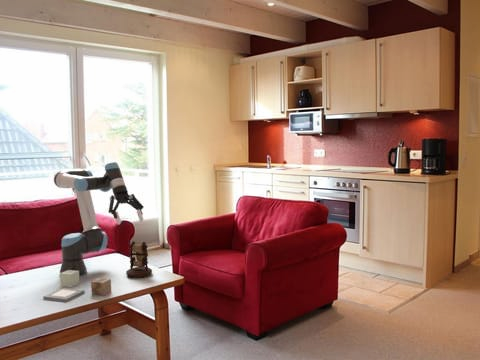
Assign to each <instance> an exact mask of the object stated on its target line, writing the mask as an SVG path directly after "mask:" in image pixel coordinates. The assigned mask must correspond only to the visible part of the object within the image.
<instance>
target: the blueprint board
mask: <svg viewBox="0 0 480 360" xmlns="http://www.w3.org/2000/svg"><path fill="white" fill-rule="evenodd" d="M83 294H85V289H84V290H83V289H76V288H66V287H61V288H59V289H57V290H55V291H52V292H50V293H47V294H45V295H44V296H43V297H42V298H43V300H45V301H46V300H48V301H56V302H64V303H67V302H69V301H72V300H73V299H76V298H78V297H80V296H81V295H83Z"/></svg>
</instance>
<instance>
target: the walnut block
mask: <svg viewBox="0 0 480 360" xmlns="http://www.w3.org/2000/svg"><path fill="white" fill-rule="evenodd" d="M90 283H91V284H90V285H91V287H90V289H91V296H98V297H105V296H107V295H108V294H110V293H112V280H111V278H107V277H106V278H104V277H98V278H96V279H94V280H92V281H90Z"/></svg>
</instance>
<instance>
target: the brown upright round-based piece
mask: <svg viewBox="0 0 480 360" xmlns="http://www.w3.org/2000/svg"><path fill="white" fill-rule="evenodd" d="M148 246H149V245H147V244H146V241H143V242H142V243H141V244H140V243H136V242H135V240H134V241H131V244H129V246H128V247H129V253H128V254H129V255H128V256H129V259H130V260H129V264H130V266H129V267H130V268H129V269H127V270H126V271H125V274H126V276H127V278H129V277H142V279H144V277H145V276H149V275H151V274H152V273H153V269H152V268H151V267H148V264H149V261H148V256H149V253H148Z"/></svg>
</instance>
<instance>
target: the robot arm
mask: <svg viewBox="0 0 480 360" xmlns="http://www.w3.org/2000/svg"><path fill="white" fill-rule="evenodd" d="M104 171H105V173H104V175H100V176H99V175H97V176H94V175H93V172H92V171H91V170H90V169H89V168H73V169H62V170H60V171H58V172H56V174H55V175H53V176H54V177H53V183H54V185H55V186H56V187H57V188H60V189H72V192H73V194H75V196H76V199H77V205H78V209H79V214H80V218H81V223H82V227H83V231H82V232H75V233H69V234H66V235H64V236H63V237H62V238H61V245H60V246H61V255H62V257H61V258H62V259H61V260H62V262H61V266H60V270H59V274H60V273H62V272H65V271H67V270H75V271H79V277H80V276H83V275H85V274H86V273H87V272H88V270H87V267H86V264H85V261H84V255H87V254H92V253H99V252H102V251H105V250H106V249H107V245H108V235H107V233H106V231H102V228H101V227H99V225H98V220H97V215H96V212H95V206H94V202H93V197H92V194H91V191H101V192H102V193H103V192H104V193H106V192H109V191H110V190H112V193H113V194H112V195H111V196H110V197H109V206H108V207H109V208H108V213H109V214H111V215H112V216H113V219H115V221H116V223H117V226H118V225H119V226H120V224H121V223H122V220H121V218H120V215H119V212H118V211H117V210H118V208H119V206H120V204H121V205H123V204H128V205H130V206H131V207H132V208H134V209H135V210H136V215H137V217H138V220H139V222H140V223H142V222H143V221H144V216H143V215H144V214H143V211H142V210H143V209H144V205H143V204H142V203H141V202H140V200H138V199H137V197H136V196H135V194H134V193H131V194H129V191H128V188H127V186H126V183H125V179H124V177H123V175H122V171H121V168H120V166H119V164H118V163H117V162H116V161H110V162H108V163H106V164H105V165H104ZM115 201H116V203H115ZM114 204H115V206H114Z"/></svg>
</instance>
